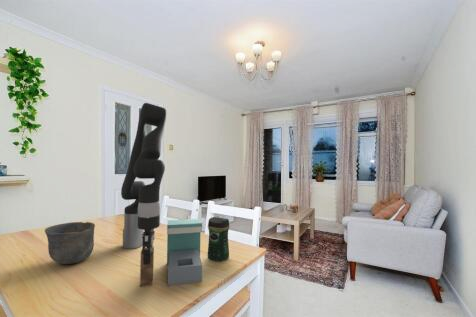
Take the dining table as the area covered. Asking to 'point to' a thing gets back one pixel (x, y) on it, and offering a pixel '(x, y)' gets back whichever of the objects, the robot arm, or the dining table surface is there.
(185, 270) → the socket block
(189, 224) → the teal two-tone block
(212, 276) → the dining table surface
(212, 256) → the coffee jar
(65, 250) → the cup
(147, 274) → the walnut peg
